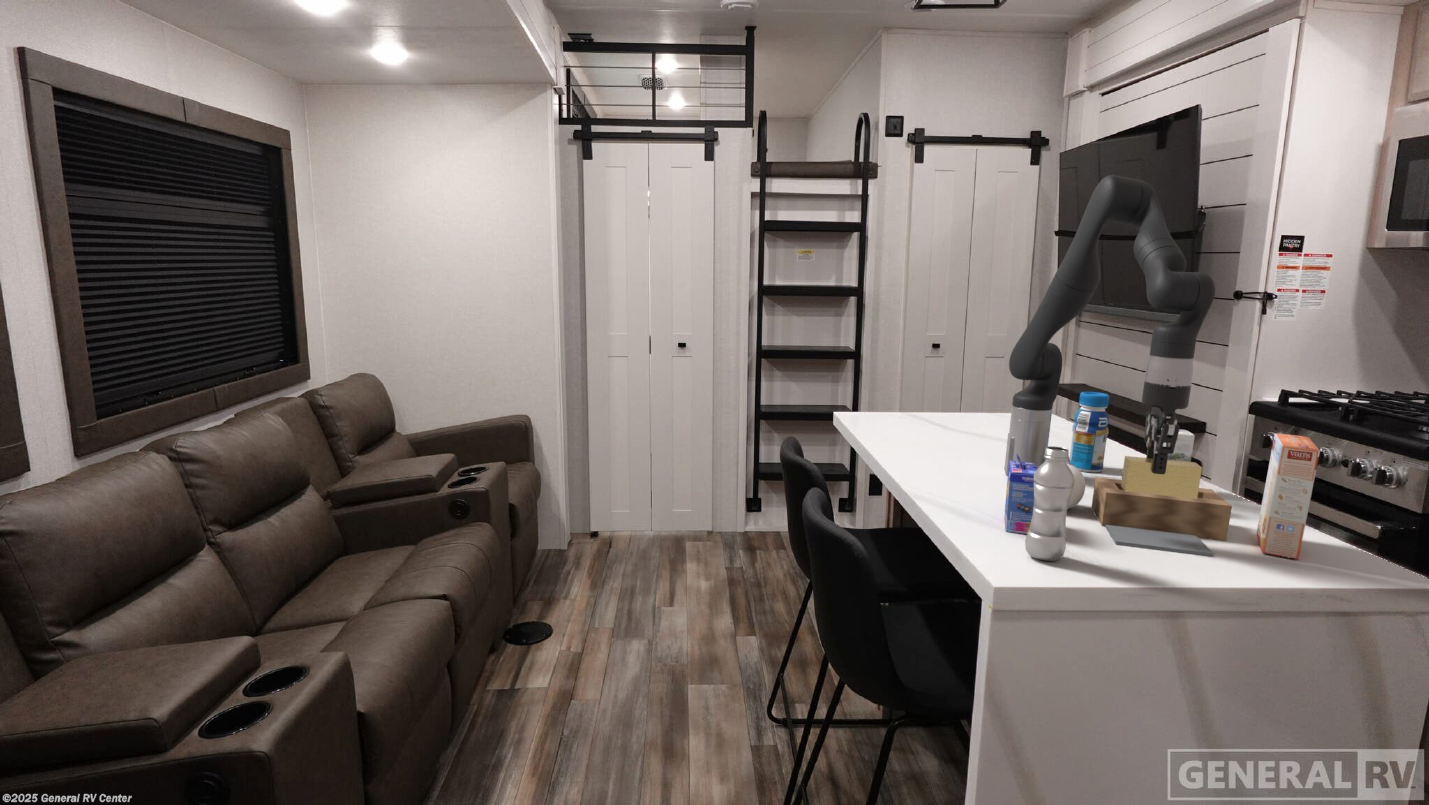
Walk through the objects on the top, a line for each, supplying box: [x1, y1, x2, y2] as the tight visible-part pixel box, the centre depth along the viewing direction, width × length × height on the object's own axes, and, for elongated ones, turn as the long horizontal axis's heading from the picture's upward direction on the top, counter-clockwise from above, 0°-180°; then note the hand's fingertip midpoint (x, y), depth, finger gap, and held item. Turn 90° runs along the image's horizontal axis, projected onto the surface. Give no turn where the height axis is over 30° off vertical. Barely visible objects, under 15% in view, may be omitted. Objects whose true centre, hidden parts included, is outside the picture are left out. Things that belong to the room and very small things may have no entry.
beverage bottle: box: [1069, 391, 1110, 473], centre depth 197 cm, size 8×8×20 cm
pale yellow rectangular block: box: [1121, 455, 1203, 499], centre depth 144 cm, size 12×4×6 cm, turn 73°
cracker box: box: [1256, 433, 1321, 560], centre depth 143 cm, size 14×6×21 cm, turn 148°
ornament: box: [1066, 454, 1086, 510], centre depth 163 cm, size 10×10×12 cm
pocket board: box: [1090, 476, 1233, 541], centre depth 156 cm, size 22×12×7 cm, turn 73°
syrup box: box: [1163, 429, 1196, 462], centre depth 180 cm, size 6×6×14 cm
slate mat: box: [1105, 525, 1214, 557], centre depth 145 cm, size 16×10×1 cm, turn 73°
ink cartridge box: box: [1004, 453, 1037, 535], centre depth 150 cm, size 10×6×14 cm, turn 161°
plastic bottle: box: [1024, 445, 1074, 562], centre depth 133 cm, size 6×7×20 cm
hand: (1155, 470), depth 144 cm, fingers closed on pale yellow rectangular block, 4 cm apart
